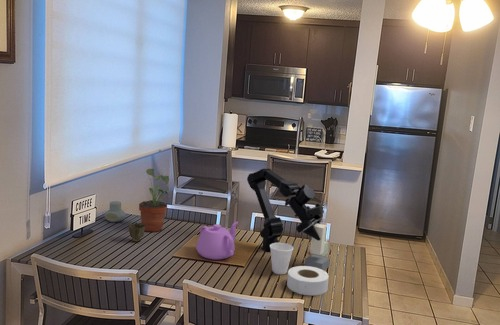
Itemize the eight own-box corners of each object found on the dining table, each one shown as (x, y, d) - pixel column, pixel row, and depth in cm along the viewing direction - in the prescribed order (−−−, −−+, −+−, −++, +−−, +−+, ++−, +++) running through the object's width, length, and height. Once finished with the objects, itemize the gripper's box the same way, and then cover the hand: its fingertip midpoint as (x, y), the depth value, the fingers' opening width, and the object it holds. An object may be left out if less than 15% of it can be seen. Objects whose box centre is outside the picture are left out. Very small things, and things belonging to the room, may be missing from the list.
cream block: (310, 252, 191) (312, 226, 189) (314, 249, 195) (316, 223, 193) (320, 255, 189) (323, 228, 187) (323, 251, 193) (326, 225, 191)
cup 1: (125, 242, 206) (125, 225, 205) (134, 237, 213) (135, 221, 212) (138, 245, 204) (138, 228, 202) (147, 240, 211) (148, 224, 209)
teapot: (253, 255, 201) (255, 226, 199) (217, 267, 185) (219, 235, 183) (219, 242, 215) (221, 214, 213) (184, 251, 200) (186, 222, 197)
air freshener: (101, 221, 234) (102, 203, 233) (109, 217, 242) (109, 199, 241) (121, 224, 233) (121, 205, 231) (128, 219, 241) (128, 201, 239)
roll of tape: (281, 290, 168) (283, 276, 167) (292, 275, 182) (293, 262, 181) (323, 299, 162) (324, 285, 162) (330, 283, 177) (332, 270, 176)
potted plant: (165, 235, 220) (168, 165, 215) (134, 232, 220) (137, 163, 215) (171, 225, 235) (174, 160, 230) (142, 223, 235) (145, 158, 230)
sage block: (321, 257, 205) (323, 244, 204) (312, 253, 208) (313, 241, 208) (327, 254, 209) (328, 242, 208) (318, 251, 212) (319, 239, 211)
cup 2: (275, 278, 178) (277, 251, 176) (263, 268, 187) (265, 243, 185) (296, 274, 183) (298, 249, 181) (283, 265, 191) (285, 241, 189)
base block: (304, 267, 192) (305, 259, 191) (312, 262, 198) (312, 254, 198) (321, 272, 187) (322, 263, 187) (328, 267, 194) (329, 258, 193)
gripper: (306, 202, 181) (329, 234, 178) (320, 194, 198) (342, 223, 195) (286, 217, 186) (308, 248, 183) (302, 208, 203) (323, 236, 200)
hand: (321, 238), depth 190 cm, fingers closed on cream block, 5 cm apart
